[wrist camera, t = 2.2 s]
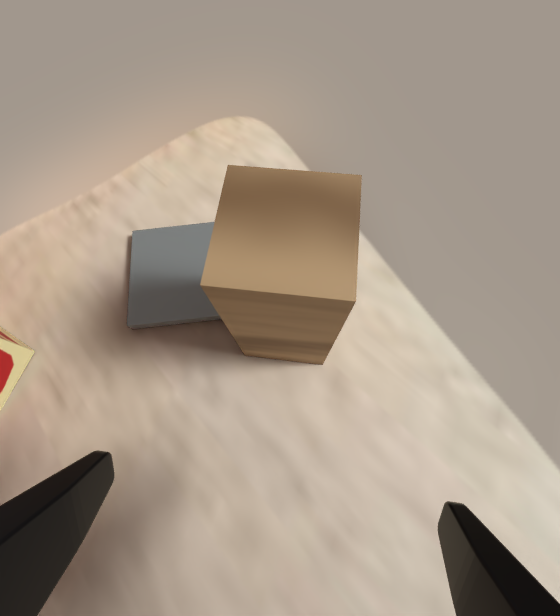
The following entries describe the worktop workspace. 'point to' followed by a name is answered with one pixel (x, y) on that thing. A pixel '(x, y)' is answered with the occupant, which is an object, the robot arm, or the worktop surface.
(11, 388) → the milk carton
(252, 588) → the worktop surface
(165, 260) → the slate coaster
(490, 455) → the worktop surface
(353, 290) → the walnut block
